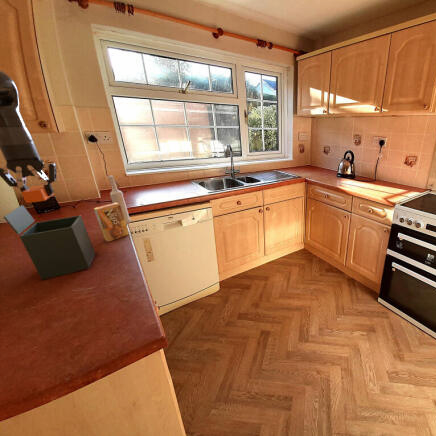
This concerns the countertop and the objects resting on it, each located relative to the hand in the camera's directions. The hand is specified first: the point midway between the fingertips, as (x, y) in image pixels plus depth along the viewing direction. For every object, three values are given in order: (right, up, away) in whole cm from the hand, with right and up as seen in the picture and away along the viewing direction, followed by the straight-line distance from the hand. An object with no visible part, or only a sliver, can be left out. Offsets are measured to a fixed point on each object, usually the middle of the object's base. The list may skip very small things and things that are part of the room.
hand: (40, 196), depth 80 cm
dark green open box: (+1, -25, +11) cm, 27 cm away
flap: (-6, -7, 0) cm, 10 cm away
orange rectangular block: (0, -1, 0) cm, 1 cm away
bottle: (-4, -10, +47) cm, 49 cm away
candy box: (+3, -16, +32) cm, 36 cm away
